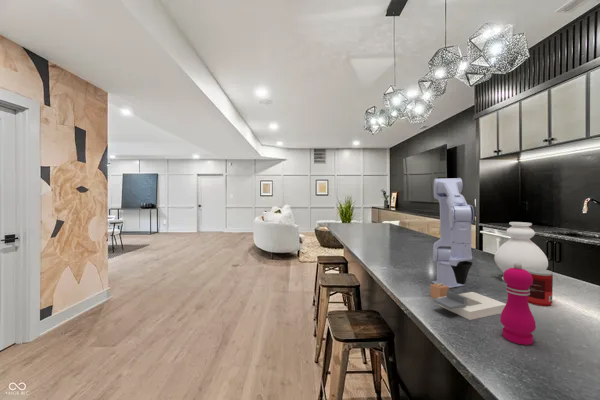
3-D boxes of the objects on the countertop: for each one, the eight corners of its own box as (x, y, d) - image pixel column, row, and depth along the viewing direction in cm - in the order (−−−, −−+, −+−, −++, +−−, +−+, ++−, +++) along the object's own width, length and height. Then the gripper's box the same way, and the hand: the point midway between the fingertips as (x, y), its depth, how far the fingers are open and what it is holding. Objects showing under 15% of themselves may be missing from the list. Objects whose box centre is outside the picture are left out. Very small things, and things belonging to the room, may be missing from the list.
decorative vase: (527, 275, 125) (527, 220, 125) (560, 289, 108) (560, 225, 107) (485, 274, 127) (486, 220, 127) (511, 288, 109) (511, 225, 109)
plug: (439, 295, 103) (439, 281, 103) (448, 299, 99) (448, 284, 99) (430, 296, 102) (430, 282, 102) (439, 300, 98) (439, 286, 98)
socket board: (472, 298, 99) (472, 291, 99) (507, 312, 88) (507, 304, 88) (437, 305, 94) (437, 297, 94) (469, 320, 82) (469, 311, 82)
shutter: (448, 298, 92) (448, 290, 92) (466, 306, 86) (466, 297, 86) (433, 301, 90) (433, 293, 90) (450, 309, 83) (450, 300, 83)
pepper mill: (493, 332, 75) (493, 259, 75) (518, 331, 76) (518, 258, 75) (516, 347, 68) (517, 266, 67) (543, 345, 69) (544, 265, 68)
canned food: (545, 299, 98) (545, 268, 98) (557, 307, 90) (558, 274, 90) (519, 296, 101) (519, 266, 100) (529, 305, 93) (529, 272, 93)
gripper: (455, 238, 98) (455, 276, 98) (439, 243, 88) (439, 285, 89) (478, 240, 93) (478, 280, 93) (463, 246, 83) (463, 291, 83)
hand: (460, 283), depth 91 cm, fingers closed
